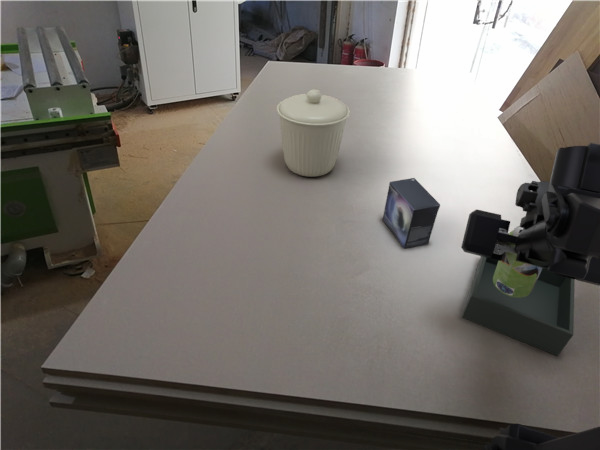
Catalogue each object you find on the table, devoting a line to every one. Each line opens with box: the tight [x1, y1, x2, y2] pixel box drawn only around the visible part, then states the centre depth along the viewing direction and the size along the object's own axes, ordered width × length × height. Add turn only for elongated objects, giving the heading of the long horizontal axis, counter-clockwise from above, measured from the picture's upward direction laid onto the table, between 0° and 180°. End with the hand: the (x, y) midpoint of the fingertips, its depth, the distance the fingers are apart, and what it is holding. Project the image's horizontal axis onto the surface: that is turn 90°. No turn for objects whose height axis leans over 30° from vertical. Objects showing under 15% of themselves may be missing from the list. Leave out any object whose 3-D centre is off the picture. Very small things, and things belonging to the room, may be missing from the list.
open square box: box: [461, 256, 576, 357], centre depth 72 cm, size 17×15×6 cm
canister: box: [276, 89, 351, 178], centre depth 103 cm, size 18×18×21 cm
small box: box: [382, 177, 441, 249], centre depth 86 cm, size 11×6×10 cm, turn 17°
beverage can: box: [493, 225, 542, 298], centre depth 63 cm, size 6×7×12 cm
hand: (518, 252), depth 64 cm, fingers closed on beverage can, 6 cm apart
